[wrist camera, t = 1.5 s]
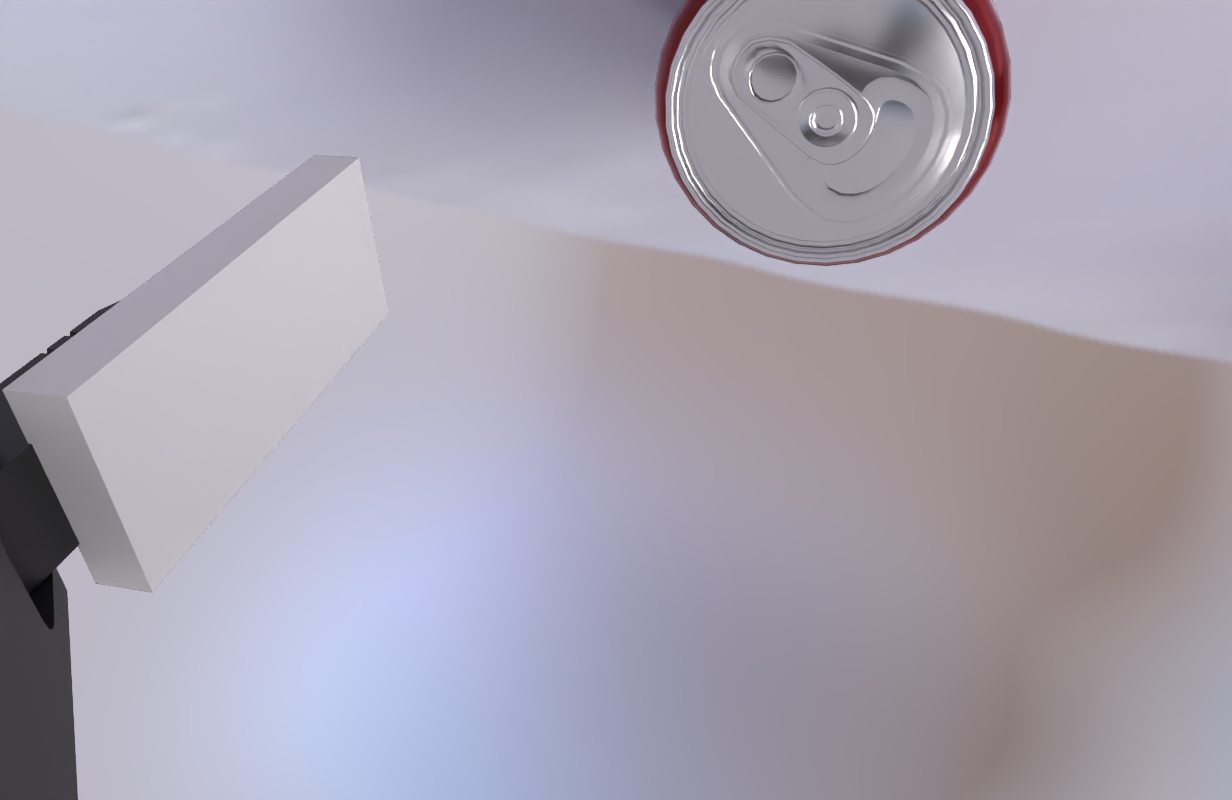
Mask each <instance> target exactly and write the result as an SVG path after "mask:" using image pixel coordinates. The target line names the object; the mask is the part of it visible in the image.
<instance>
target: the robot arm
mask: <svg viewBox="0 0 1232 800" xmlns="http://www.w3.org/2000/svg"><path fill="white" fill-rule="evenodd" d="M388 314H389V308H388V303H387V298H386V293H385V288H384V283H383V277H382V272H381V267H380V262H379V257H378V252H377V247H376V242H375V236H374V231H373V226H372V222H371V216H370V212H369V206H368V201H367V196H366V191H365V185H364V180H363V175H362V170H361V165H360V160H359V158H357V157H337V156H318V155H314V156H313V157H311V158H310V159H309V160H307V161H306V162H305V163H303V164H302V165H301V166H299V167H298V168H297V169H295V170H294V171H293V172H291V173H290V174H289V175H287V176H286V177H285V178H283V179H282V180H281V181H279V182H278V183H277V184H275V185H274V186H273V187H271V188H270V189H269V190H267V191H266V192H265V193H263V194H262V195H261V196H260V197H258V198H257V199H255V200H254V201H253V202H251V203H250V204H249V205H247V206H246V207H245V208H243V209H242V210H241V211H239V212H238V213H237V214H235V215H234V216H233V217H231V218H230V219H229V220H228V221H226V222H225V223H223V224H222V225H221V226H219V227H218V228H217V229H215V230H214V231H213V232H211V233H210V234H209V235H208V236H206V237H205V238H203V239H202V240H201V241H200V242H198V243H197V244H196V245H194V246H193V247H192V248H190V249H189V250H188V251H186V252H185V253H184V254H182V255H181V256H180V257H178V258H177V259H176V260H174V261H173V262H172V263H170V264H169V265H168V266H166V267H165V268H164V269H162V270H161V271H160V272H158V273H157V274H156V275H154V276H153V277H152V278H150V279H149V280H148V281H146V282H145V283H144V284H142V285H141V286H140V287H138V288H137V289H136V290H134V291H133V292H132V293H131V294H129V295H128V296H126V297H125V298H124V299H122V300H121V301H118V302H116V303H114V304H112V305H110V306H107V307H105V308H103V309H101V310H99V311H97V312H96V313H95V314H93V315H92V316H91V317H89V318H88V319H86V320H85V321H84V322H82V323H81V324H80V325H78V326H77V327H76V328H75V329H73V330H72V331H70V336H64V337H62V338H61V339H60V340H58V341H57V342H56V343H54V344H53V345H51V346H50V347H49V348H48V349H47V354H44V353H41V354H39V355H38V356H37V357H35V358H34V359H33V360H31V361H30V362H29V363H27V364H26V365H25V366H23V367H22V368H21V369H19V370H18V371H16V372H15V373H14V374H12V375H11V376H10V377H8V378H7V379H6V380H4V381H3V382H2V383H0V800H78V794H77V775H76V755H75V735H74V717H73V696H72V678H71V657H70V638H69V618H68V598H67V590H66V588H65V585H64V583H63V581H62V579H61V577H60V575H59V573H58V571H57V569H56V567H57V566H58V565H59V564H60V563H61V562H62V561H63V560H64V559H65V558H66V557H67V556H68V555H69V554H70V553H71V552H72V551H73V550H74V549H75V548H76V547H77V546H78V547H79V549H80V552H81V553H82V556H83V558H84V560H85V562H86V564H87V566H88V568H89V570H90V572H91V574H92V576H93V578H94V581H95V582H96V584H102V585H108V586H115V587H121V588H127V589H133V590H139V591H145V592H154V591H155V589H156V588H157V587H158V586H159V585H160V584H161V582H162V581H163V580H164V579H165V578H166V576H167V575H168V574H169V573H170V572H171V571H172V569H173V568H174V567H175V566H176V564H177V563H178V562H179V561H180V560H181V559H182V557H183V556H184V555H185V554H186V553H187V552H188V550H189V549H190V548H191V547H192V546H193V545H194V543H195V542H196V541H197V540H198V539H199V537H200V536H201V535H202V534H203V533H204V532H205V530H206V529H207V528H208V527H209V526H210V525H211V523H212V522H213V521H214V520H215V518H216V517H217V516H218V515H219V514H220V513H221V511H222V510H223V509H224V508H225V507H226V505H227V504H228V503H229V502H230V501H231V500H232V498H233V497H234V496H235V495H236V494H237V493H238V491H239V490H240V489H241V488H242V487H243V485H244V484H245V483H246V482H247V481H248V480H249V478H250V477H251V476H252V475H253V474H254V473H255V471H256V470H257V469H258V468H259V467H260V465H261V464H262V463H263V462H264V461H265V460H266V458H267V457H268V456H269V455H270V454H271V452H272V451H273V450H274V449H275V447H277V445H278V444H279V443H280V442H281V441H282V439H283V438H284V437H285V436H286V435H287V434H288V432H289V431H290V430H291V429H292V428H293V426H294V425H295V424H296V423H297V422H298V420H299V419H300V418H301V417H302V415H303V414H304V413H305V412H306V411H307V410H308V409H309V408H310V406H311V405H312V404H313V403H314V402H315V400H316V399H317V398H318V397H319V396H320V394H321V393H322V392H323V391H324V390H325V389H326V387H327V386H328V385H329V384H330V383H331V382H332V380H333V379H334V378H335V377H336V376H337V374H338V373H339V372H340V371H341V370H342V369H343V367H344V366H345V365H346V364H347V363H348V362H349V360H350V359H351V358H352V357H353V355H354V354H355V353H356V352H357V351H358V350H359V349H360V347H361V346H362V345H363V344H364V342H365V341H366V340H367V339H368V338H369V336H370V335H371V334H372V333H373V332H374V331H375V330H376V328H377V327H378V326H379V325H380V324H381V323H382V321H383V320H384V319H385V318H386V317H387V315H388Z"/></svg>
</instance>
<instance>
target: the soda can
mask: <svg viewBox="0 0 1232 800" xmlns="http://www.w3.org/2000/svg"><path fill="white" fill-rule="evenodd" d="M1010 99H1011V71H1010V57H1009V53H1008V49H1007V44H1006V40H1005V36H1004V32H1003V27H1002V24H1001V21H1000V18H999V15H998V12H997V10H996V7H995V4H994V1H993V0H686V1H685V2H684V4H683V6H682V7H681V9H680V10H679V12H678V13H677V15H676V17H675V18H674V20H673V23H672V25H671V28H670V30H669V33H668V36H667V38H666V41H665V43H664V46H663V48H662V51H661V56H660V61H659V67H658V72H657V78H656V83H655V106H656V122H657V126H658V131H659V136H660V141H661V146H662V150H663V152H664V154H665V157H666V159H667V162H668V164H669V166H670V169H671V171H672V173H673V176H674V178H675V179H676V181H677V182H678V184H679V185H680V187H681V188H682V190H683V191H684V193H685V194H686V196H687V198H688V199H689V201H690V202H691V204H692V205H693V206H694V207H695V208H696V209H697V210H698V211H699V212H700V213H701V214H702V215H703V216H704V217H705V218H706V219H707V220H708V221H709V222H710V223H711V224H712V225H713V226H714V227H715V228H717V229H718V230H719V231H721V232H722V233H724V234H725V235H727V236H728V237H729V238H731V239H732V240H734V241H735V242H737V243H738V244H740V245H742V246H745V247H747V248H749V249H751V250H753V251H756V252H758V253H760V254H762V255H764V256H767V257H771V258H775V259H779V260H783V261H787V262H791V263H795V264H808V265H822V266H829V265H839V264H849V263H858V262H862V261H865V260H869V259H872V258H876V257H879V256H883V255H886V254H889V253H891V252H893V251H896V250H898V249H900V248H902V247H904V246H906V245H908V244H910V243H912V242H914V241H916V240H918V239H920V238H921V237H922V236H924V235H925V234H927V233H928V232H929V231H931V230H932V229H934V228H935V227H936V226H938V225H939V224H941V223H942V222H943V221H945V220H946V219H947V218H948V217H949V216H950V215H951V214H952V213H953V212H954V211H955V210H956V209H957V208H958V207H959V206H960V205H961V204H962V203H963V202H964V201H965V200H966V199H967V198H968V197H969V196H970V195H971V193H972V192H973V190H974V189H975V187H976V186H977V184H978V183H979V181H980V180H981V178H982V177H983V175H984V174H985V172H986V171H987V169H988V168H989V166H990V165H991V162H992V160H993V157H994V155H995V153H996V150H997V148H998V145H999V143H1000V140H1001V138H1002V136H1003V133H1004V129H1005V124H1006V119H1007V114H1008V109H1009V104H1010Z"/></svg>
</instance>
